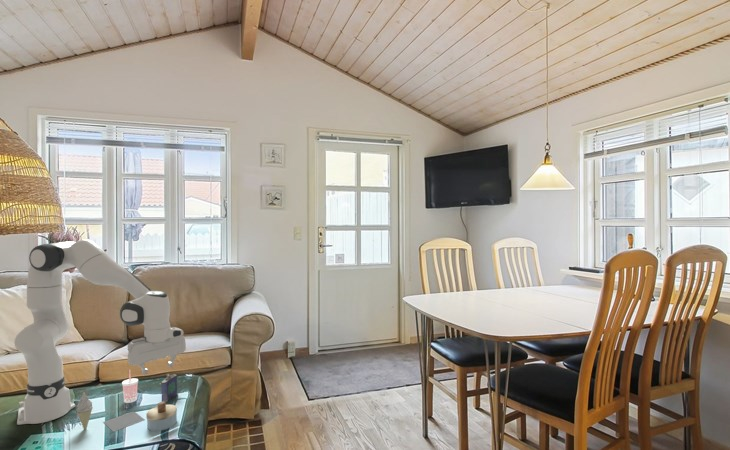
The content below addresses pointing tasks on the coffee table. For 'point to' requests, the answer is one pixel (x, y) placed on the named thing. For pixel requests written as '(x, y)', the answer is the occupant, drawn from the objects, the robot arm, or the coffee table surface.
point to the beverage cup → (130, 389)
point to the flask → (169, 387)
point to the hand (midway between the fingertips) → (158, 370)
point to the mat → (123, 421)
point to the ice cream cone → (84, 410)
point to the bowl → (162, 423)
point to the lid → (161, 412)
